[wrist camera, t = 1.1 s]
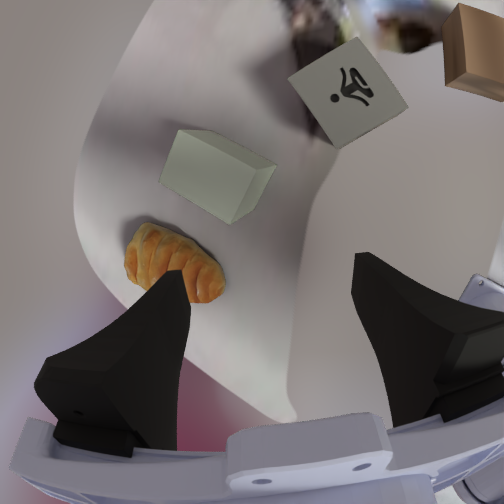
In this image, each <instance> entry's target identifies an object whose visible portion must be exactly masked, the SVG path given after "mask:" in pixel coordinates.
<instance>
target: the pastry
mask: <svg viewBox="0 0 504 504" xmlns="http://www.w3.org/2000/svg"><path fill="white" fill-rule="evenodd" d="M124 267H125V270H126V271H127V276H128V279H129V280H131V281H132V282H133V283H134V284H137V285H139V286H141V287H142V288H143V289H145V290H146V291H148V290H149V289H150V288H151V287H152V286H153V285H154V284H155V282H156V281H157V280H158V279H159V278H160V277H161V276H162V275H163V274H164V273H165V272H166V271H169V270H180V269H181V270H182V274H183V279H184V283H185V287H186V291H187V294H188V298H189V302H190V303H209V302H211V301H213V300H214V299H216V298H217V297H218V296H220V295H221V294H222V293H223V292H224V289H225V285H226V281H225V276H224V273H223V270H222V267H221V266H220V264H219V263H218V262H217V261H216V260H214V259H213V258H211V257H210V256H209V255H207V254H206V253H205V252H204V251H203V250H202V249H201V248H200V247H199V246H198V245H197V244H196V243H195V242H194V241H193V240H192V239H190V238H186V237H184V236H182V235H180V234H177V233H176V232H174V231H172V230H170V229H167V228H164V227H162V226H157V225H155V224H152V223H149V222H146V223H143V224H142V225H141V226H140V227H139V229H138V230H137V231H136V232H135V234H134V236H133V239H132V240H131V241H130V242H129V244H128V246H127V249H126V254H125V262H124Z"/></svg>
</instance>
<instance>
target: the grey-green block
mask: <svg viewBox="0 0 504 504" xmlns="http://www.w3.org/2000/svg"><path fill="white" fill-rule="evenodd" d="M276 166H277V165H276V164H274V163H273V162H271V161H269V160H267V159H265V158H263V157H262V156H260V155H258V154H256V153H254V152H252V151H250V150H248V149H246V148H245V147H243V146H241V145H239V144H237V143H235V142H233V141H231V140H229V139H227V138H225V137H223V136H221V135H219V134H217V133H215V132H213V131H208V130H182V129H179V130H178V132H177V135H176V137H175V140H174V142H173V145H172V147H171V150H170V152H169V155H168V157H167V160H166V163H165V165H164V168H163V171H162V173H161V176H160V179H159V183H161V184H162V185H164V186H166V187H167V188H169V189H171V190H172V191H174V192H176V193H177V194H179V195H181V196H182V197H184V198H186V199H187V200H189V201H191V202H192V203H194V204H196V205H197V206H199V207H201V208H202V209H204V210H205V211H207V212H209V213H210V214H212V215H214V216H215V217H217V218H219V219H220V220H222V221H224V222H225V223H227V224H229V225H231V224H232V223H234V222H235V221H237V220H238V219H240V218H241V217H243V216H245V215H246V214H248V213H249V212H251V211H252V210H254V208H255V206H256V204H257V202H258V200H259V198H260V197H261V195H262V193H263V191H264V189H265V187H266V185H267V183H268V181H269V179H270V177H271V175H272V173H273V172H274V170H275V168H276Z"/></svg>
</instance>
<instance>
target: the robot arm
mask: <svg viewBox="0 0 504 504" xmlns="http://www.w3.org/2000/svg"><path fill="white" fill-rule="evenodd" d="M481 280H482V283H481V284H479V282H480V281H481ZM351 295H352V298H353V301H354V305H355V308H356V311H357V314H358V316H359V318H360V320H361V322H362V325H363V327H364V329H365V331H366V333H367V335H368V338H369V340H370V342H371V344H372V346H373V349H374V351H375V353H376V356H377V359H378V362H379V365H380V369H381V372H382V376H383V379H384V383H385V387H386V392H387V396H388V400H389V406H390V411H391V416H392V422H393V428H392V429H388V430H386V428H385V425H384V422H383V419H382V417H380V416H378V415H375V414H372V413H369V412H367V413H352V414H347V415H341V416H335V417H329V418H323V419H317V420H310V421H302V422H294V423H285V424H275V425H263V426H257V427H252V428H246V429H243V430H241V431H239V432H237V433H235V434H233V435H231V436H230V437H229V438H228V440H227V443H226V452H189V451H177V401H178V387H179V377H180V370H181V366H182V360H183V356H184V352H185V347H186V342H187V338H188V333H189V328H190V316H191V306H190V302H189V298H188V294H187V291H186V287H185V283H184V279H183V274H182V270H181V269H180V270H169V271H166V272H165V273H164V274H163V275H162V276H161V277H160V278H159V279H158V280H157V281H156V282H155V284H154V285H153V286H152V287H151V288H150V289H149V290H148V291H147V292H146V293H145V294H144V295H143V296H142V297H141V298H140V299H139V300H138V301H137V302H136V303H135V304H133V305H132V306H131V307H130V308H129V309H128V310H127V311H126V312H125V313H124V314H122V315H121V316H120V317H119V318H118V319H116V320H115V321H114V322H112V323H111V324H110V325H108V326H107V327H105V328H104V329H102V330H101V331H99V332H98V333H96V334H95V335H93V336H92V337H90V338H88V339H87V340H85V341H83V342H81V343H79V344H77V345H75V346H73V347H71V348H69V349H67V350H65V351H62V352H60V353H58V354H55V355H53V356H50V357H48V358H46V360H45V362H44V364H43V366H42V368H41V370H40V372H39V374H38V376H37V378H36V380H35V382H34V388H35V391H36V393H37V395H38V397H39V398H40V399H41V401H42V402H43V403H44V404H45V406H46V407H47V408H48V409H49V410H50V411H51V412H52V413H53V414H54V415H55V417H56V418H57V419H58V422H57V425H56V426H54V425H53V424H51V423H48V422H45V421H41V420H38V419H33V418H30V417H29V418H27V420H26V423H25V425H24V428H23V430H22V433H21V435H20V438H19V441H18V443H17V446H16V449H15V452H14V454H13V457H12V460H11V463H10V466H9V469H10V470H11V471H12V472H14V473H15V474H16V475H18V476H19V477H21V478H22V479H24V480H25V481H27V482H28V483H30V484H31V485H33V486H35V487H36V488H37V489H39V490H41V491H42V492H44V493H45V494H47V495H49V496H52V497H54V498H57V499H60V500H63V501H66V502H68V503H71V504H437V501H436V498H435V494H434V493H436V492H438V491H440V490H443V489H445V488H447V487H449V486H451V485H453V488H454V490H455V492H456V493H457V495H458V496H459V497H460V499H461V500H462V501H464V502H465V503H466V504H504V288H503V287H502V286H500V285H498V284H496V283H494V282H492V281H491V280H489V279H487V278H485V277H483V276H481V275H479V274H474V275H473V276H472V277H471V279H470V281H469V283H468V285H467V286H466V288H465V290H464V292H463V294H462V295H461V297H460V299H459V300H458V301H457V300H454V299H452V298H449V297H447V296H444V295H442V294H440V293H438V292H435V291H433V290H431V289H429V288H427V287H425V286H423V285H421V284H420V283H418V282H416V281H414V280H413V279H411V278H409V277H408V276H406V275H404V274H402V273H401V272H400V271H398V270H396V269H395V268H393V267H392V266H390V265H389V264H387V263H386V262H384V261H383V260H381V259H379V258H378V257H376V256H375V255H373V254H371V253H369V252H365V253H364V252H363V253H355V260H354V270H353V280H352V289H351Z"/></svg>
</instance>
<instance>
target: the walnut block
mask: <svg viewBox="0 0 504 504" xmlns="http://www.w3.org/2000/svg"><path fill="white" fill-rule="evenodd" d="M441 29H442V38H443V53H444V72H445V86H446V87H451V88H455V89H458V90H463V91H466V92H470V93H473V94H477V95H480V96H484V97H487V98H490V99H493V100H496V101H499V102H504V18H501V17H499V16H496V15H494V14H491V13H488V12H485V11H483V10H480V9H477V8H474V7H471V6H468V5H464V4H461V3H458V4H457V5H456V7H455V8H454V10H453V11H452V13H451V14H450V16H449V17H448V19H447V20H446V21H445V23H444V24H443V26H442V27H441Z"/></svg>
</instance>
